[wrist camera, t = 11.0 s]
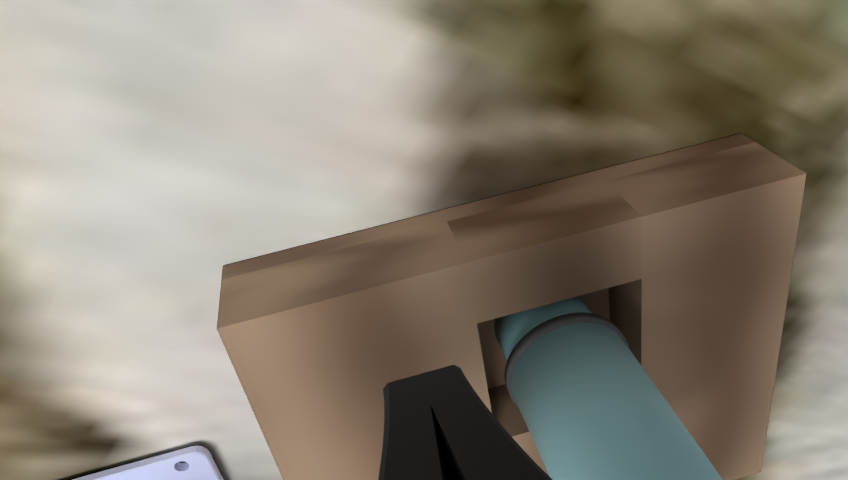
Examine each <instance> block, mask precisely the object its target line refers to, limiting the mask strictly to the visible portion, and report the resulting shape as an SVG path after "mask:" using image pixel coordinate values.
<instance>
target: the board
mask: <svg viewBox="0 0 848 480" xmlns="http://www.w3.org/2000/svg"><path fill="white" fill-rule="evenodd" d="M805 180H806V173H805V172H803V171H802V170H800V169H798V168H797V167H795V166H794V165H792V164H790V163H789V162H787V161H785V160H784V159H782V158H780V157H779V156H777V155H776V154H774V153H772V152H771V151H769V150H767V149H766V148H764V147H762V146H761V145H759V144H758V143H756V142H754V141H753V140H751V139H749V138H748V137H746V136H745V135H743V134H737V135H733V136H729V137H725V138H721V139H717V140H713V141H709V142H705V143H702V144H698V145H694V146H690V147H686V148H682V149H678V150H674V151H670V152H666V153H662V154H659V155H655V156H651V157H647V158H643V159H639V160H635V161H631V162H627V163H623V164H619V165H616V166H612V167H608V168H604V169H600V170H596V171H592V172H588V173H584V174H580V175H576V176H573V177H569V178H565V179H561V180H557V181H553V182H549V183H545V184H541V185H537V186H533V187H530V188H526V189H522V190H518V191H514V192H510V193H506V194H502V195H498V196H494V197H490V198H487V199H483V200H479V201H475V202H471V203H467V204H463V205H459V206H455V207H451V208H447V209H444V210H440V211H436V212H432V213H428V214H424V215H420V216H416V217H412V218H408V219H404V220H401V221H397V222H393V223H389V224H385V225H381V226H377V227H373V228H369V229H365V230H361V231H358V232H354V233H350V234H346V235H342V236H338V237H334V238H330V239H326V240H322V241H318V242H315V243H311V244H307V245H303V246H299V247H295V248H291V249H287V250H283V251H279V252H275V253H272V254H268V255H264V256H260V257H256V258H252V259H248V260H244V261H240V262H236V263H232V264H229V265H225V266H223V270H222V280H221V291H220V301H219V312H218V322H217V330H218V332H219V335H220V337H221V339H222V342H223V344H224V346H225V348H226V351H227V353H228V355H229V357H230V360H231V362H232V364H233V366H234V369H235V371H236V373H237V376H238V378H239V380H240V382H241V385H242V387H243V389H244V391H245V394H246V396H247V398H248V401H249V403H250V405H251V407H252V410H253V412H254V414H255V416H256V419H257V421H258V423H259V426H260V428H261V430H262V432H263V435H264V437H265V439H266V441H267V444H268V446H269V448H270V450H271V453H272V455H273V457H274V460H275V462H276V464H277V466H278V469H279V471H280V473H281V475H282V478H283V480H378V478H379V470H380V463H381V455H382V447H383V434H384V395H383V388H384V387H385V386H386V384H387V383H389V382H392V381H396V380H400V379H403V378H407V377H410V376H414V375H418V374H421V373H425V372H429V371H432V370H436V369H439V368H443V367H447V366H450V365H456V366H458V367H460V368H461V370H462V372H463V373H464V375H465V377H466V378H467V380H468V381H469V383H470V385H471V386H472V388H473V389H474V390H475V392H476V393H477V395H478V396H479V397H480V399H481V400H482V401H483V403H484V404H485V405H486V407H487V408H488V409H489V410H490V412H491V413H492V414H493V416H494V417H495V418H496V419H497V420H498V422H499V423H500V424H501V425H502V426H503V428H504V429H505V430H506V431H507V432H508V433H509V434H510V435H511V436H512V438H513V439H514V440H515V441H516V442H517V443H518V444H519V445H520V447H521V448H522V449H523V450H524V451H525V452H526V453H527V454H528V455H529V456H530V457H531V458H532V459H533V460H534V462H535V463H536V464H537V465H538V466H539V467H540V468H541V469H542V470H543V471H544V472H545V473H546V474H547V475H548V476H549V474H548V472H547V470H546V468H545V465H544V463H543V461H542V459H541V456H540V454H539V452H538V450H537V447H536V445H535V443H534V441H533V439H532V436H531V434H530V432H529V430H528V427H527V425H526V423H525V421H524V418H523V416H522V414H521V412H520V410H519V408H518V407H517V406H516V405H515V404H514V402H513V401H512V399H511V397H510V395H509V392H508V390H507V388H506V385H505V380H504V372H505V366H506V362H507V360H506V357H505V355H504V353H503V351H502V349H501V347H500V345H499V342H498V340H497V338H496V335H495V331H494V321H495V318H499V317H503V316H507V315H510V314H514V313H518V312H521V311H525V310H529V309H532V308H536V307H540V306H543V305H547V304H551V303H554V302H558V301H562V300H565V299H569V298H573V297H577V296H581V297H582V298H583V300H584V301H585V303H586V304H587V306H588V307H589V308H590V310H591V311H592V313H593V314H597V315H600V316H603V317H605V318H607V319H609V320H610V321H612V322H613V323H614V324H615V325H616V326H617V327H618V329H619V330H620V331H621V333H622V334H623V336H624V337H625V338H626V340H627V343H628V345H629V349H630V351H631V352H632V354H633V355H634V356H635V358H636V359H637V360H638V362H639V363H640V365H641V366H642V367H643V369H644V370H645V372H646V373H647V374H648V376H649V377H650V379H651V380H652V381H653V383H654V384H655V386H656V387H657V388H658V390H659V391H660V393H661V394H662V395H663V397H664V398H665V400H666V401H667V402H668V404H669V405H670V406H671V408H672V409H673V411H674V412H675V413H676V415H677V416H678V418H679V419H680V420H681V422H682V423H683V425H684V426H685V427H686V429H687V430H688V432H689V433H690V434H691V436H692V437H693V439H694V440H695V441H696V443H697V444H698V446H699V447H700V448H701V450H702V451H703V452H704V454H705V455H706V457H707V458H708V459H709V461H710V462H711V464H712V465H713V466H714V468H715V469H716V471H717V472H718V473H719V475H720V476H721V478H722V479H723V480H736V479H739V478H742V477H746V476H749V475H752V474H756V473H759V472H761V468H762V461H763V455H764V448H765V442H766V435H767V429H768V422H769V416H770V409H771V402H772V396H773V389H774V383H775V376H776V370H777V363H778V357H779V350H780V344H781V337H782V330H783V324H784V317H785V311H786V304H787V298H788V291H789V285H790V278H791V272H792V265H793V258H794V252H795V245H796V239H797V232H798V226H799V219H800V213H801V206H802V200H803V193H804V186H805ZM549 477H550V476H549Z"/></svg>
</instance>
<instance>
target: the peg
mask: <svg viewBox="0 0 848 480" xmlns="http://www.w3.org/2000/svg"><path fill="white" fill-rule="evenodd" d="M494 331H495V335H496V338H497V340H498V342H499V345H500V347H501V349H502V351H503V353H504V355H505V357H506V360H507V362H506V366H505V372H504V380H505V385H506V388H507V390H508V392H509V395H510V397H511V399H512V401H513V402H514V404H515V405H516V406H517V407H518V408H519V410H520V412H521V414H522V416H523V418H524V421H525V423H526V425H527V427H528V430H529V432H530V434H531V436H532V439H533V441H534V443H535V445H536V447H537V450H538V452H539V454H540V456H541V459H542V461H543V463H544V465H545V468H546V470H547V472H548V474H549V476H550V478H551V479H552V480H723V479H722V478H721V476H720V475H719V473H718V472H717V471H716V469H715V468H714V466H713V465H712V464H711V462H710V461H709V459H708V458H707V457H706V455H705V454H704V452H703V451H702V450H701V448H700V447H699V446H698V444H697V443H696V441H695V440H694V439H693V437H692V436H691V434H690V433H689V432H688V430H687V429H686V427H685V426H684V425H683V423H682V422H681V420H680V419H679V418H678V416H677V415H676V413H675V412H674V411H673V409H672V408H671V406H670V405H669V404H668V402H667V401H666V400H665V398H664V397H663V395H662V394H661V393H660V391H659V390H658V388H657V387H656V386H655V384H654V383H653V381H652V380H651V379H650V377H649V376H648V374H647V373H646V372H645V370H644V369H643V367H642V366H641V365H640V363H639V362H638V360H637V359H636V358H635V356H634V355H633V354H632V352H631V351H630V349H629V345H628V343H627V340H626V338H625V337H624V336H623V334H622V333H621V331H620V330H619V329H618V327H617V326H616V325H615V324H614V323H613V322H612V321H610V320H609V319H607V318H605V317H603V316H600V315H597V314H593V313H592V311H591V310H590V308H589V307H588V306H587V304H586V303H585V301H584V300H583V298H582V297H581V296H577V297H573V298H569V299H565V300H562V301H558V302H554V303H551V304H547V305H543V306H540V307H536V308H532V309H529V310H525V311H521V312H518V313H514V314H510V315H507V316H503V317H499V318H495V321H494Z"/></svg>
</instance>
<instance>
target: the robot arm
mask: <svg viewBox="0 0 848 480" xmlns="http://www.w3.org/2000/svg"><path fill="white" fill-rule="evenodd" d="M383 395H384V434H383V447H382V455H381V463H380V470H379V478H378V480H552V479H551V478H550V477H549V476H548V475H547V474H546V473H545V472H544V471H543V470H542V469H541V468H540V467H539V466H538V465H537V464H536V463H535V462H534V460H533V459H532V458H531V457H530V456H529V455H528V454H527V453H526V452H525V451H524V450H523V449H522V448H521V447H520V445H519V444H518V443H517V442H516V441H515V440H514V439H513V438H512V436H511V435H510V434H509V433H508V432H507V431H506V430H505V429H504V428H503V426H502V425H501V424H500V423H499V422H498V420H497V419H496V418H495V417H494V416H493V414H492V413H491V412H490V410H489V409H488V408H487V407H486V405H485V404H484V403H483V401H482V400H481V399H480V397H479V396H478V395H477V393H476V392H475V390H474V389H473V388H472V386H471V385H470V383H469V381H468V380H467V378H466V377H465V375H464V373H463V372H462V370H461V368H460V367H458V366H456V365H450V366H447V367H443V368H439V369H436V370H432V371H429V372H425V373H421V374H418V375H414V376H410V377H407V378H403V379H400V380H396V381H392V382H389V383H387V384H386V386H385V387H384V388H383ZM180 461H184V462H186V463H179V462H180ZM72 480H224V479H223V477H222V475H221V474H220V472H219V470H218V468H217V466H216V464H215V462H214V460H213V458H212V456H211V454H210V452H209V451H208V450H207V449H206V448H204V447H202V446H191V447H187V448H184V449H180V450H177V451H173V452H169V453H166V454H162V455H159V456H155V457H151V458H148V459H144V460H141V461H137V462H133V463H130V464H126V465H122V466H119V467H115V468H112V469H108V470H104V471H101V472H97V473H94V474H90V475H86V476H83V477H79V478H76V479H72Z"/></svg>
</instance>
